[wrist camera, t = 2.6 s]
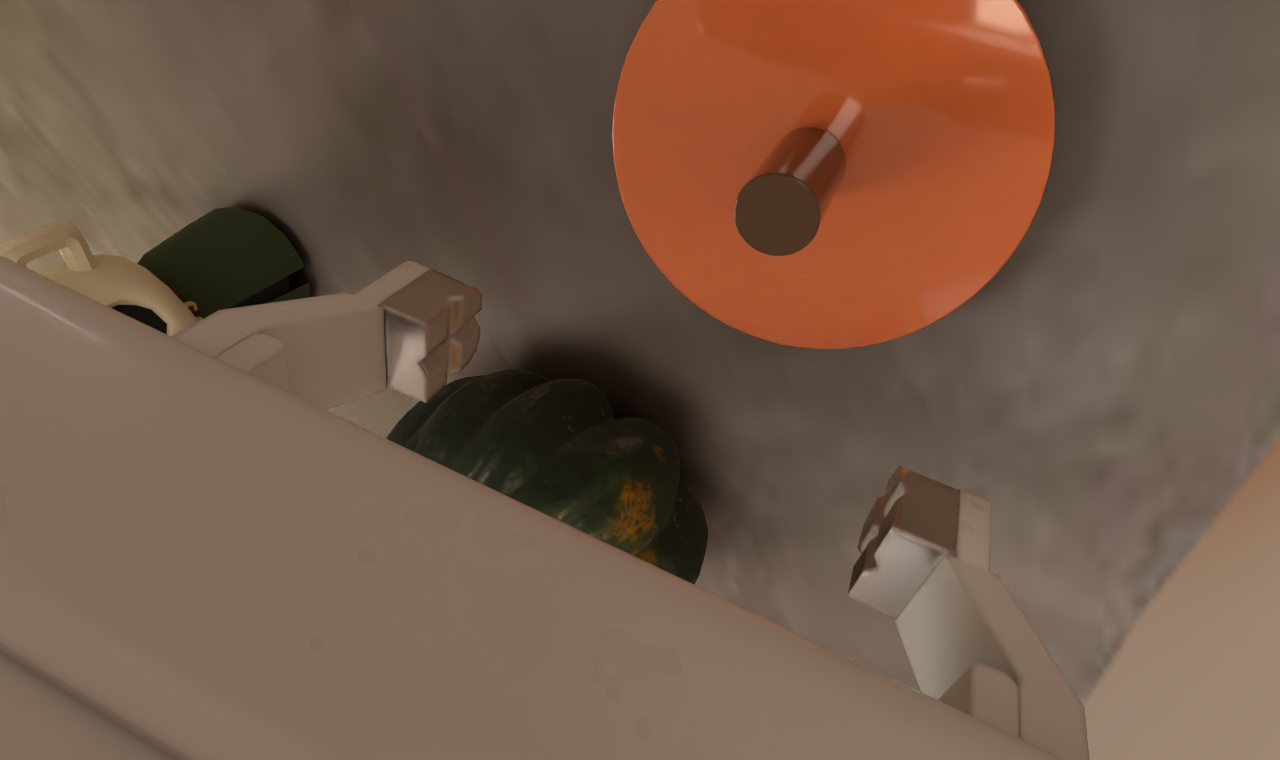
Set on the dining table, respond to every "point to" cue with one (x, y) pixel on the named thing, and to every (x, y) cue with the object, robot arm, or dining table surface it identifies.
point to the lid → (832, 158)
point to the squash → (566, 461)
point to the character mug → (175, 269)
